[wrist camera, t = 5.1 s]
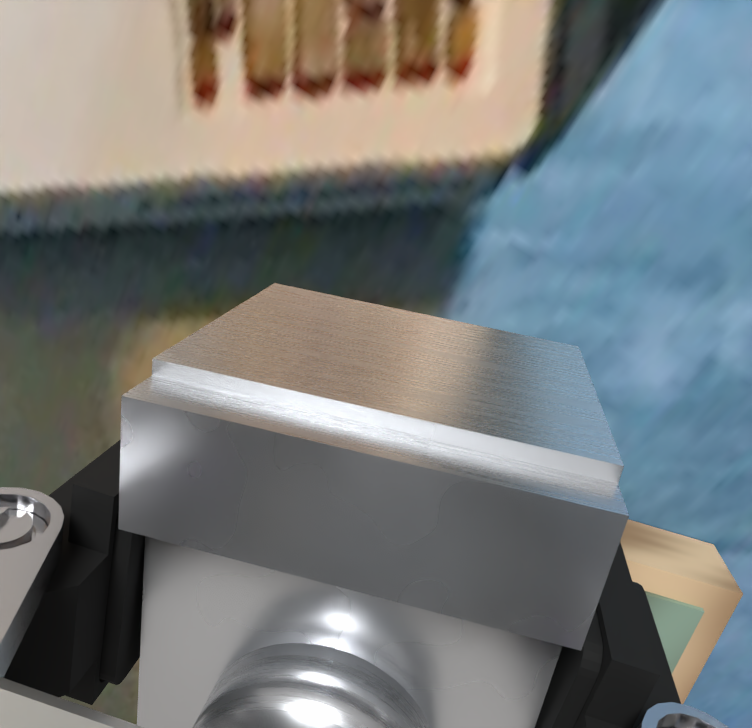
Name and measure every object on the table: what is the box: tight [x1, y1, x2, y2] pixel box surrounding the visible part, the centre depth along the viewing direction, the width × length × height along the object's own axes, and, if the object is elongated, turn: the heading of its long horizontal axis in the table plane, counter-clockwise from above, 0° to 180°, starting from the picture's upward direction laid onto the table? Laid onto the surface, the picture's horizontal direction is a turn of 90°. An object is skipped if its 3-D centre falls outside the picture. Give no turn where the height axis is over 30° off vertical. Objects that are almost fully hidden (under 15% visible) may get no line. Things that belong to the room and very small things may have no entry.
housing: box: [118, 283, 629, 728], centre depth 9 cm, size 7×5×5 cm
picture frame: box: [620, 520, 743, 704], centre depth 25 cm, size 11×9×3 cm
